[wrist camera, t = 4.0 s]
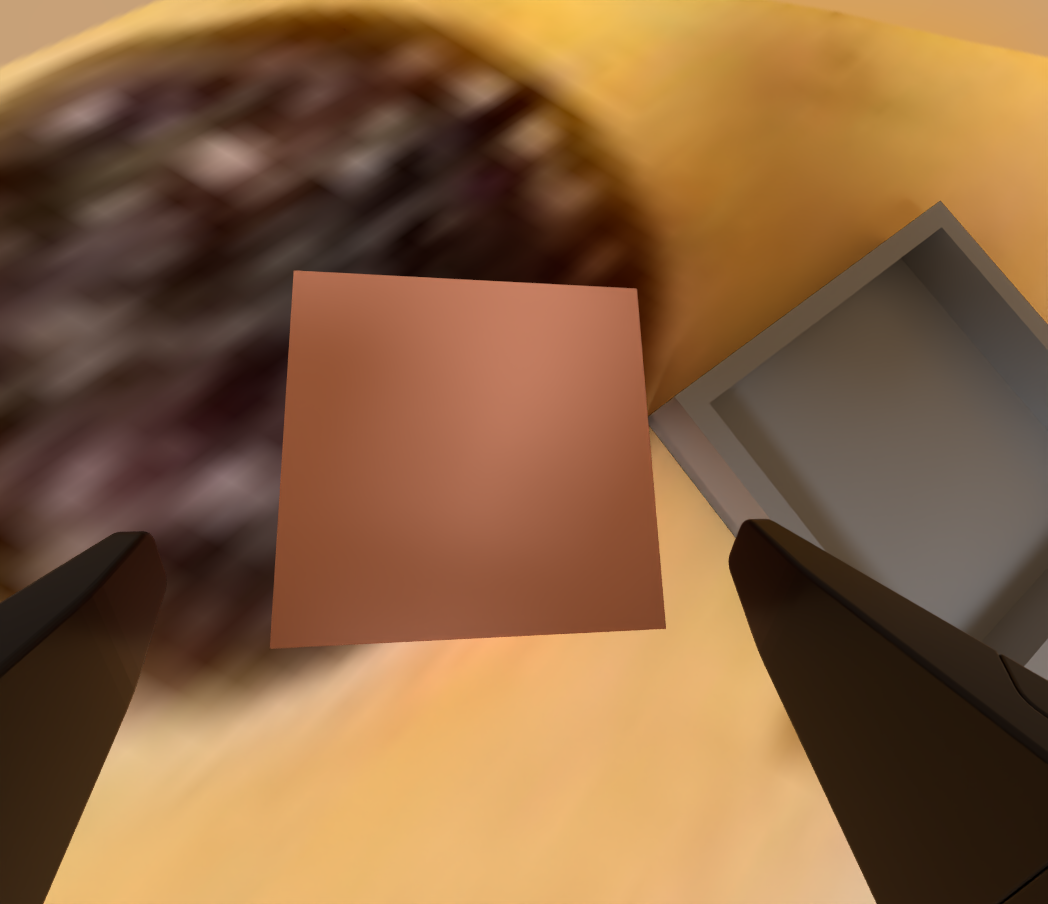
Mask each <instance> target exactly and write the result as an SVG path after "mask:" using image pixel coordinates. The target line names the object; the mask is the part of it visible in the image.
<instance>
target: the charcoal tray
mask: <svg viewBox="0 0 1048 904" xmlns="http://www.w3.org/2000/svg"><path fill="white" fill-rule="evenodd" d="M648 424H649V426H650V427H651V428H652V430H653V431H654V432H655V433H656V435H657V436H658V437H659V439H660V440H661V441H662V443H663V444H664V445H665V446H666V448H667V449H668V450H669V452H670V453H671V454H672V456H673V457H674V458H675V459H676V461H677V462H678V463H679V465H680V466H681V467H682V469H683V470H684V471H685V472H686V474H687V475H688V476H689V478H690V479H691V480H692V482H693V483H694V484H695V485H696V487H697V488H698V489H699V491H700V492H701V493H702V495H703V496H704V497H705V498H706V500H707V501H708V502H709V504H710V505H711V506H712V508H713V509H714V510H715V511H716V513H717V514H718V515H719V517H720V518H721V519H722V521H723V522H724V523H725V524H726V526H727V527H728V528H729V530H730V531H731V532H732V534H733V535H734V536H735V537H736V536H737V534H738V531H739V528H740V526H741V524H742V523H743V522H744V521H745V520H748V519H770V520H772V521H774V522H776V523H778V524H779V525H781V526H783V527H785V528H786V529H788V530H790V531H791V532H793V533H795V534H797V535H798V536H800V537H802V538H803V539H805V540H807V541H809V542H810V543H812V544H814V545H815V546H817V547H819V548H821V549H822V550H824V551H826V552H827V553H829V554H831V555H833V556H834V557H836V558H838V559H840V560H841V561H843V562H845V563H846V564H848V565H850V566H852V567H853V568H855V569H857V570H858V571H860V572H862V573H864V574H865V575H867V576H869V577H870V578H872V579H874V580H876V581H877V582H879V583H881V584H883V585H884V586H886V587H888V588H889V589H891V590H893V591H895V592H896V593H898V594H900V595H901V596H903V597H905V598H907V599H908V600H910V601H912V602H913V603H915V604H917V605H919V606H920V607H922V608H924V609H926V610H927V611H929V612H931V613H932V614H934V615H936V616H938V617H939V618H941V619H943V620H944V621H946V622H948V623H950V624H951V625H953V626H955V627H957V628H958V629H960V630H962V631H963V632H965V633H967V634H969V635H970V636H972V637H974V638H975V639H977V640H979V641H981V642H982V643H984V644H986V645H987V646H989V647H991V648H993V649H994V650H996V651H997V653H998V654H1003V655H1005V656H1007V657H1008V658H1010V659H1012V660H1013V661H1015V662H1017V663H1019V664H1020V665H1022V666H1024V667H1025V668H1027V669H1029V670H1031V671H1032V672H1034V673H1036V674H1038V675H1039V676H1041V677H1043V678H1045V679H1046V680H1048V324H1047V323H1046V322H1045V321H1044V320H1043V319H1042V317H1041V316H1040V315H1039V314H1038V313H1037V312H1036V311H1035V309H1034V308H1033V307H1032V306H1031V305H1030V304H1029V302H1028V301H1027V300H1026V299H1025V298H1024V297H1023V296H1022V294H1021V293H1020V292H1019V291H1018V290H1017V289H1016V287H1015V286H1014V285H1013V284H1012V283H1011V282H1010V281H1009V279H1008V278H1007V277H1006V276H1005V275H1004V274H1003V272H1002V271H1001V270H1000V269H999V268H998V267H997V266H996V264H995V263H994V262H993V261H992V260H991V259H990V257H989V256H988V255H987V254H986V253H985V252H984V250H983V249H982V248H981V247H980V246H979V245H978V244H977V242H976V241H975V240H974V239H973V238H972V237H971V235H970V234H969V233H968V232H967V231H966V230H965V229H964V227H963V226H962V225H961V224H960V223H959V222H958V220H957V219H956V218H955V217H954V216H953V215H952V214H951V212H950V211H949V210H948V209H947V208H946V207H945V205H944V204H943V203H942V202H941V201H939V202H938V203H936V204H935V205H934V206H932V207H931V208H930V209H928V210H927V211H926V212H924V213H923V214H922V215H920V216H919V217H917V218H916V219H915V220H913V221H912V222H911V223H909V224H908V225H907V226H905V227H904V228H903V229H901V230H900V231H898V232H897V233H896V234H894V235H893V236H892V237H890V238H889V239H888V240H886V241H885V242H884V243H882V244H881V245H879V246H878V247H877V248H875V249H874V250H873V251H871V252H870V253H869V254H867V255H866V256H865V257H863V258H862V259H860V260H859V261H858V262H856V263H855V264H854V265H852V266H851V267H850V268H848V269H847V270H846V271H844V272H843V273H841V274H840V275H839V276H837V277H836V278H835V279H833V280H832V281H831V282H829V283H828V284H827V285H825V286H824V287H822V288H821V289H820V290H818V291H817V292H816V293H814V294H813V295H812V296H810V297H809V298H808V299H806V300H805V301H803V302H802V303H801V304H799V305H798V306H797V307H795V308H794V309H793V310H791V311H790V312H789V313H787V314H786V315H784V316H783V317H782V318H780V319H779V320H778V321H776V322H775V323H774V324H772V325H771V326H770V327H768V328H767V329H765V330H764V331H763V332H761V333H760V334H759V335H757V336H756V337H755V338H753V339H752V340H750V341H749V342H748V343H746V344H745V345H744V346H742V347H741V348H740V349H738V350H737V351H736V352H734V353H733V354H731V355H730V356H729V357H727V358H726V359H725V360H723V361H722V362H721V363H719V364H718V365H717V366H715V367H714V368H712V369H711V370H710V371H708V372H707V373H706V374H704V375H703V376H702V377H700V378H699V379H698V380H696V381H695V382H693V383H692V384H691V385H689V386H688V387H687V388H685V389H684V390H683V391H681V392H680V393H679V394H677V395H676V396H674V397H673V398H672V399H671V400H669V401H668V402H667V403H665V404H664V405H663V406H661V407H660V408H659V409H658V410H656V411H655V412H654V413H652V414H651V415H650V416H648Z"/></svg>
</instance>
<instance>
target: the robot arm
mask: <svg viewBox="0 0 1048 904" xmlns="http://www.w3.org/2000/svg"><path fill="white" fill-rule="evenodd" d="M729 569H730V573H731V575H732V578H733V581H734V584H735V587H736V590H737V593H738V595H739V598H740V601H741V604H742V607H743V610H744V613H745V615H746V618H747V621H748V624H749V627H750V630H751V633H752V636H753V638H754V641H755V644H756V646H757V649H758V651H759V654H760V656H761V658H762V660H763V663H764V665H765V667H766V669H767V671H768V674H769V676H770V678H771V680H772V682H773V684H774V686H775V688H776V691H777V693H778V695H779V697H780V699H781V701H782V703H783V705H784V708H785V710H786V712H787V714H788V716H789V718H790V720H791V722H792V725H793V727H794V729H795V731H796V733H797V735H798V737H799V739H800V742H801V744H802V746H803V748H804V750H805V752H806V754H807V757H808V759H809V761H810V763H811V765H812V767H813V769H814V771H815V774H816V776H817V778H818V780H819V782H820V784H821V786H822V788H823V791H824V793H825V795H826V797H827V799H828V801H829V803H830V805H831V808H832V810H833V812H834V814H835V816H836V818H837V820H838V822H839V825H840V827H841V829H842V831H843V833H844V835H845V837H846V839H847V842H848V844H849V846H850V848H851V850H852V852H853V854H854V857H855V859H856V861H857V863H858V865H859V867H860V869H861V871H862V874H863V876H864V878H865V880H866V882H867V884H868V886H869V888H870V891H871V893H872V895H873V897H874V899H875V901H876V903H877V904H1048V680H1046V679H1045V678H1043V677H1041V676H1039V675H1038V674H1036V673H1034V672H1032V671H1031V670H1029V669H1027V668H1025V667H1024V666H1022V665H1020V664H1019V663H1017V662H1015V661H1013V660H1012V659H1010V658H1008V657H1007V656H1005V655H1003V654H998V653H997V651H996V650H994V649H993V648H991V647H989V646H987V645H986V644H984V643H982V642H981V641H979V640H977V639H975V638H974V637H972V636H970V635H969V634H967V633H965V632H963V631H962V630H960V629H958V628H957V627H955V626H953V625H951V624H950V623H948V622H946V621H944V620H943V619H941V618H939V617H938V616H936V615H934V614H932V613H931V612H929V611H927V610H926V609H924V608H922V607H920V606H919V605H917V604H915V603H913V602H912V601H910V600H908V599H907V598H905V597H903V596H901V595H900V594H898V593H896V592H895V591H893V590H891V589H889V588H888V587H886V586H884V585H883V584H881V583H879V582H877V581H876V580H874V579H872V578H870V577H869V576H867V575H865V574H864V573H862V572H860V571H858V570H857V569H855V568H853V567H852V566H850V565H848V564H846V563H845V562H843V561H841V560H840V559H838V558H836V557H834V556H833V555H831V554H829V553H827V552H826V551H824V550H822V549H821V548H819V547H817V546H815V545H814V544H812V543H810V542H809V541H807V540H805V539H803V538H802V537H800V536H798V535H797V534H795V533H793V532H791V531H790V530H788V529H786V528H785V527H783V526H781V525H779V524H778V523H776V522H774V521H772V520H770V519H748V520H745V521H744V522H743V523H742V524H741V526H740V528H739V531H738V534H737V536H736V539H735V542H734V544H733V547H732V550H731V552H730V555H729ZM166 585H167V578H166V572H165V569H164V566H163V563H162V560H161V557H160V554H159V551H158V548H157V545H156V542H155V540H154V538H153V536H152V535H151V534H150V533H148V532H144V531H139V532H117V533H114V534H112V535H110V536H108V537H107V538H105V539H103V540H102V541H100V542H99V543H97V544H95V545H94V546H92V547H90V548H89V549H87V550H86V551H84V552H82V553H81V554H79V555H77V556H76V557H74V558H72V559H71V560H69V561H68V562H66V563H64V564H63V565H61V566H59V567H58V568H56V569H55V570H53V571H51V572H50V573H48V574H46V575H45V576H43V577H41V578H40V579H38V580H37V581H35V582H33V583H32V584H30V585H28V586H27V587H25V588H24V589H22V590H20V591H19V592H17V593H15V594H14V595H12V596H10V597H9V598H7V599H6V600H4V601H2V602H1V603H0V904H43V903H44V901H45V899H46V896H47V894H48V892H49V890H50V887H51V885H52V883H53V880H54V878H55V876H56V873H57V871H58V869H59V866H60V864H61V862H62V859H63V857H64V855H65V853H66V850H67V848H68V846H69V843H70V841H71V839H72V836H73V834H74V832H75V829H76V827H77V825H78V822H79V820H80V818H81V816H82V813H83V811H84V809H85V806H86V804H87V802H88V799H89V797H90V795H91V792H92V790H93V788H94V786H95V783H96V781H97V779H98V776H99V774H100V772H101V769H102V767H103V765H104V762H105V760H106V758H107V755H108V753H109V751H110V749H111V746H112V744H113V742H114V739H115V737H116V735H117V732H118V730H119V728H120V725H121V723H122V721H123V718H124V716H125V714H126V712H127V709H128V707H129V704H130V702H131V699H132V697H133V694H134V692H135V689H136V686H137V683H138V680H139V677H140V674H141V671H142V667H143V664H144V661H145V657H146V654H147V651H148V647H149V644H150V641H151V638H152V634H153V631H154V628H155V624H156V621H157V618H158V614H159V611H160V608H161V604H162V601H163V598H164V594H165V591H166Z"/></svg>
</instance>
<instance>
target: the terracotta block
mask: <svg viewBox="0 0 1048 904" xmlns="http://www.w3.org/2000/svg"><path fill="white" fill-rule="evenodd" d="M649 629H666V623H665V612H664V600H663V588H662V577H661V565H660V553H659V541H658V530H657V518H656V506H655V495H654V483H653V471H652V460H651V448H650V436H649V425H648V413H647V401H646V390H645V378H644V366H643V354H642V343H641V331H640V319H639V308H638V296H637V289H635V288H616V287H597V286H577V285H558V284H539V283H520V282H501V281H482V280H463V279H444V278H425V277H406V276H387V275H368V274H349V273H330V272H311V271H294V278H293V293H292V309H291V325H290V341H289V356H288V372H287V388H286V404H285V419H284V435H283V451H282V467H281V483H280V498H279V514H278V530H277V546H276V561H275V577H274V593H273V609H272V624H271V640H270V649H274V648H293V647H313V646H333V645H353V644H372V643H392V642H412V641H432V640H452V639H471V638H491V637H511V636H531V635H550V634H570V633H590V632H610V631H630V630H649Z"/></svg>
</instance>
